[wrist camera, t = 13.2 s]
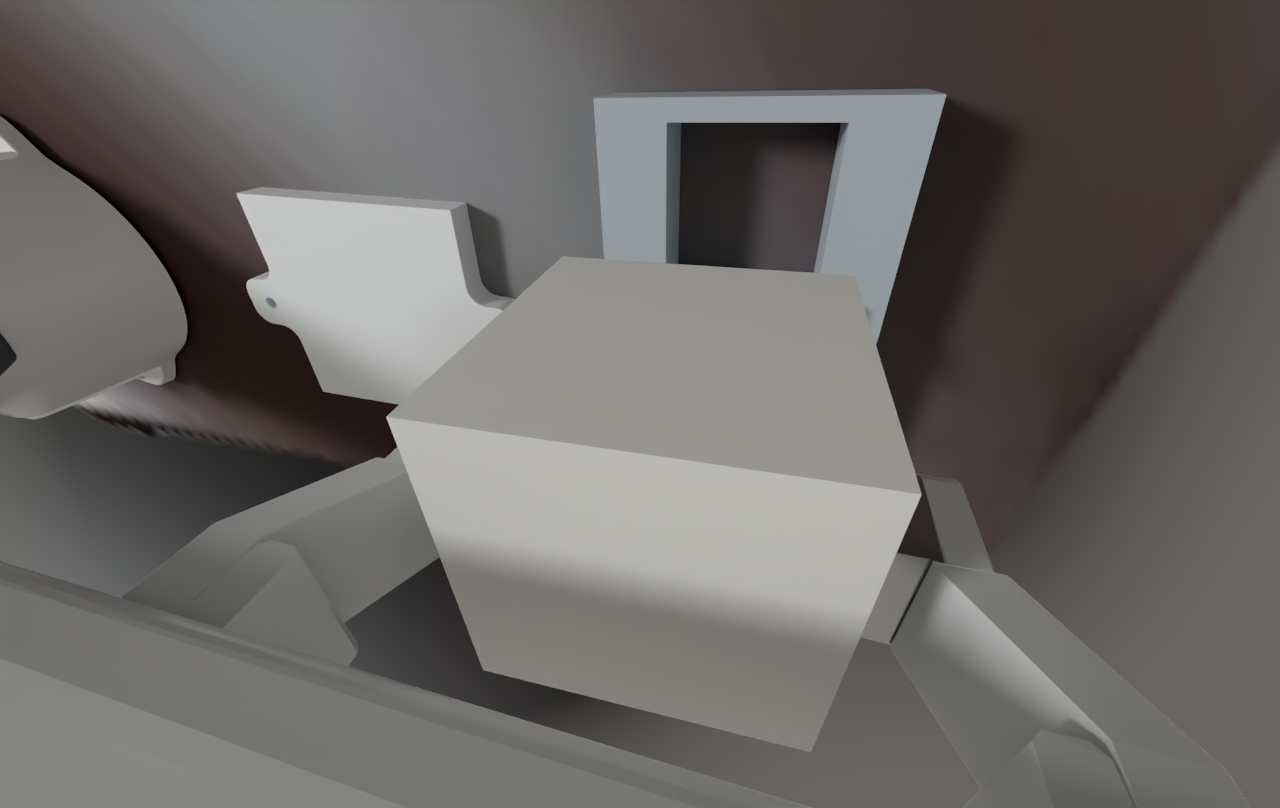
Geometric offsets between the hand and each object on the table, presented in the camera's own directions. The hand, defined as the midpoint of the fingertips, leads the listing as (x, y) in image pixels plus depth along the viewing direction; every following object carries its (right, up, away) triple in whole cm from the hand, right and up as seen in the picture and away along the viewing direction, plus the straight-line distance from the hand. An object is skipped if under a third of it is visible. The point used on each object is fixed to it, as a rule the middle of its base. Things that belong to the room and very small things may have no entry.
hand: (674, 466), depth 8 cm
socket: (+4, +6, +16) cm, 18 cm away
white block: (+1, +2, +3) cm, 4 cm away
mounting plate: (-16, +7, +23) cm, 29 cm away
